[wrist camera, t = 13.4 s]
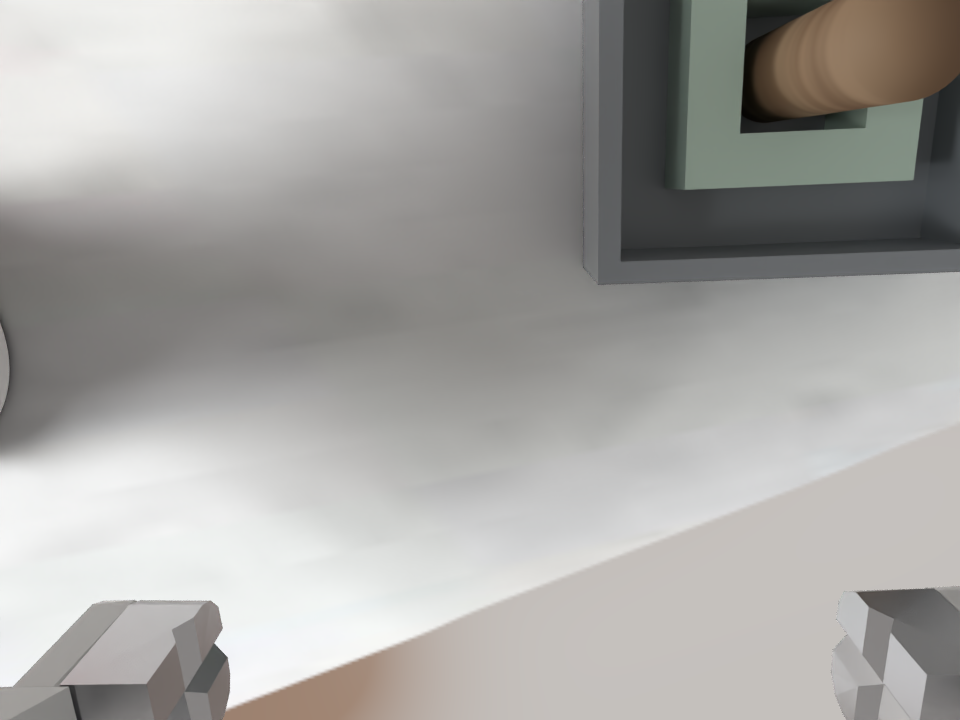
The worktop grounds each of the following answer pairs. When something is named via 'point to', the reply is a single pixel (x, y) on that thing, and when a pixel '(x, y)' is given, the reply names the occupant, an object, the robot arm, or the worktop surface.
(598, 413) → the worktop surface
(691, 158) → the bore box
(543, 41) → the worktop surface
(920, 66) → the peg
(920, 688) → the robot arm
